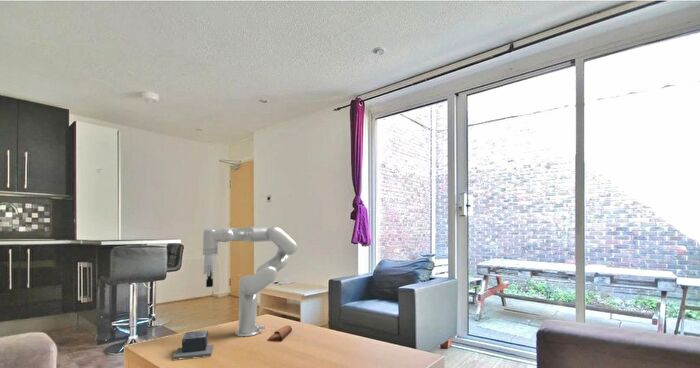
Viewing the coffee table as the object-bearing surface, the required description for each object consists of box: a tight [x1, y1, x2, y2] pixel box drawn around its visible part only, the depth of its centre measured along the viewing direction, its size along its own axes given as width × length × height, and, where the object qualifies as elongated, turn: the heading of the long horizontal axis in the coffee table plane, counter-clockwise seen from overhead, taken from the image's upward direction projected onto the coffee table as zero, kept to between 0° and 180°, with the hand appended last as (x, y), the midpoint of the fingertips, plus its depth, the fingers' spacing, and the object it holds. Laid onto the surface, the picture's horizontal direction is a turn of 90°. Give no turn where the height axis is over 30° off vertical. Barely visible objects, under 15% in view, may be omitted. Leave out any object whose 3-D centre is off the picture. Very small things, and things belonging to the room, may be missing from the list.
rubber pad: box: [172, 344, 214, 360], centre depth 174 cm, size 16×12×2 cm
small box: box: [181, 330, 209, 352], centre depth 178 cm, size 11×6×10 cm
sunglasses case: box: [266, 325, 293, 342], centre depth 200 cm, size 18×7×7 cm, turn 172°
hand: (209, 286), depth 199 cm, fingers closed
